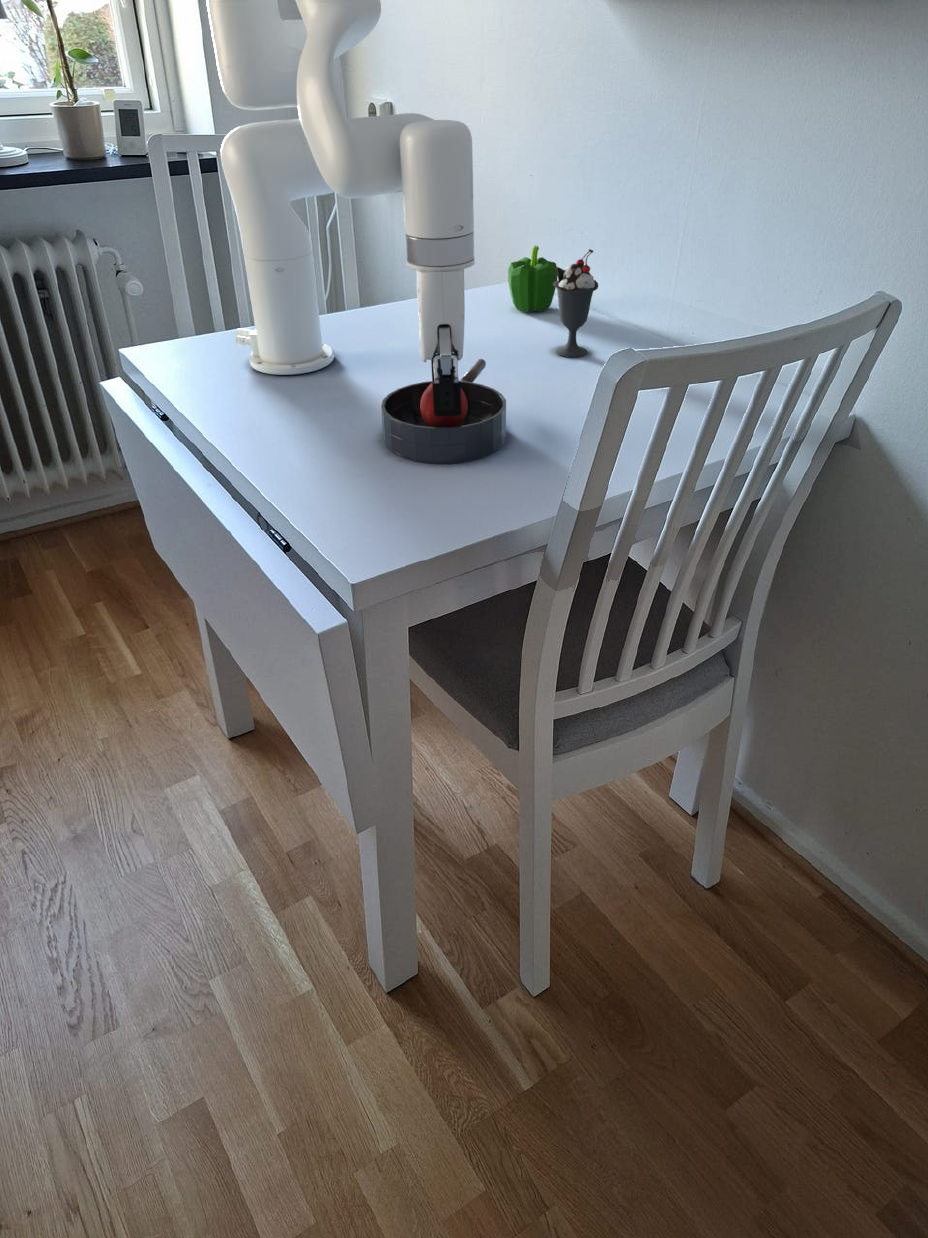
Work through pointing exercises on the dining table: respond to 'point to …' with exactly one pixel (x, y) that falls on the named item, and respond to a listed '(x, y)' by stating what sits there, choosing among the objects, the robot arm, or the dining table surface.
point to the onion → (440, 421)
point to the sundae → (574, 302)
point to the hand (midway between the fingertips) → (446, 399)
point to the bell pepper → (532, 282)
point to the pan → (444, 444)
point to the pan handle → (474, 371)
